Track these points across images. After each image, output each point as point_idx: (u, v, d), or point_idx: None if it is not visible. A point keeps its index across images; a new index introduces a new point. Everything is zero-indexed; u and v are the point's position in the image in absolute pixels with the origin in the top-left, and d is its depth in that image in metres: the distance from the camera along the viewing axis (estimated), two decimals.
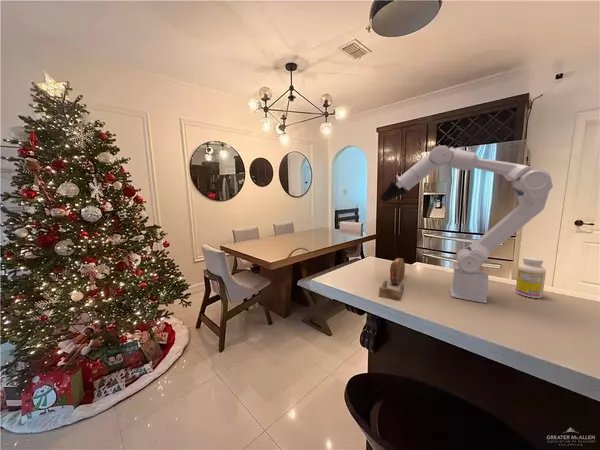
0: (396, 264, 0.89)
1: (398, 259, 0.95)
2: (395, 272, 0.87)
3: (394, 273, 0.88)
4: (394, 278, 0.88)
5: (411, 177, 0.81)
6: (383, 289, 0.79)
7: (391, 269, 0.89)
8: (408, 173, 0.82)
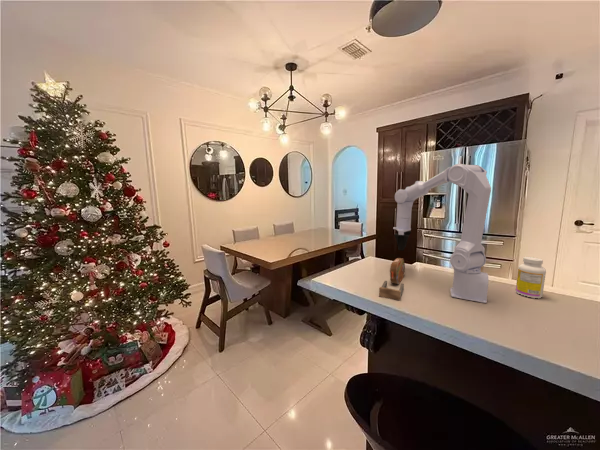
0: (396, 264, 0.89)
1: (398, 259, 0.95)
2: (395, 272, 0.87)
3: (394, 273, 0.88)
4: (394, 278, 0.88)
5: (403, 221, 0.99)
6: (383, 289, 0.79)
7: (391, 269, 0.89)
8: (398, 221, 1.01)
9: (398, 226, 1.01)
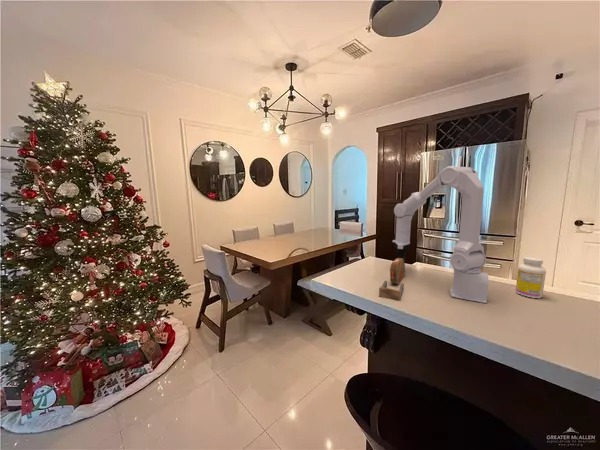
0: (396, 264, 0.89)
1: (398, 259, 0.95)
2: (395, 272, 0.87)
3: (394, 273, 0.88)
4: (394, 278, 0.88)
5: (402, 235, 1.00)
6: (383, 289, 0.79)
7: (391, 269, 0.89)
8: (398, 234, 1.01)
9: (397, 239, 1.02)
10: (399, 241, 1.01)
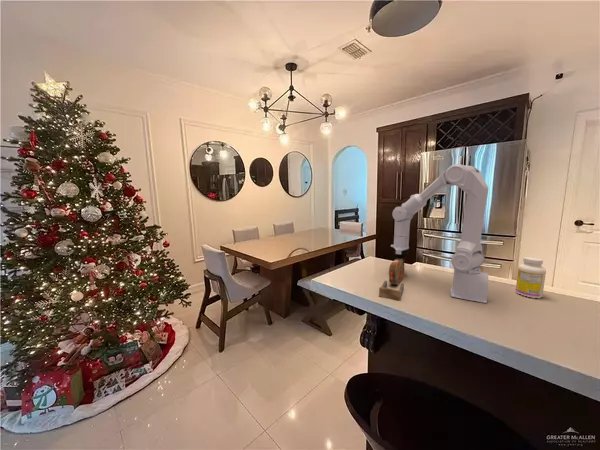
0: (395, 265, 0.88)
1: (397, 260, 0.94)
2: (394, 273, 0.86)
3: (393, 274, 0.87)
4: (393, 279, 0.87)
5: (400, 240, 0.96)
6: (383, 289, 0.79)
7: (390, 270, 0.88)
8: (396, 239, 0.97)
9: (396, 244, 0.98)
10: (397, 246, 0.97)
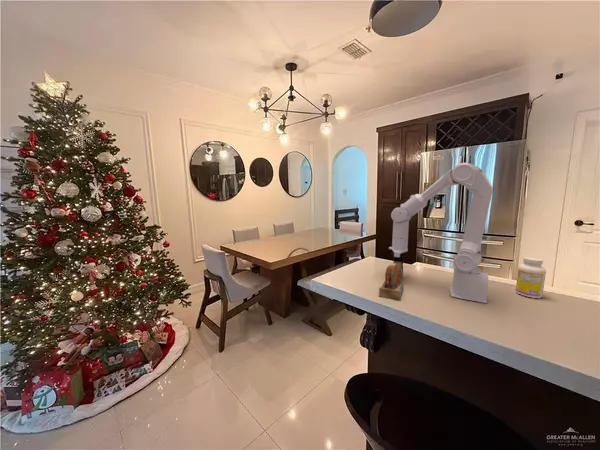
0: (392, 268, 0.84)
1: (395, 263, 0.90)
2: (390, 276, 0.83)
3: (389, 277, 0.83)
4: (390, 283, 0.83)
5: (399, 242, 0.92)
6: (383, 289, 0.79)
7: (386, 273, 0.84)
8: (394, 241, 0.93)
9: (394, 246, 0.94)
10: (396, 248, 0.93)
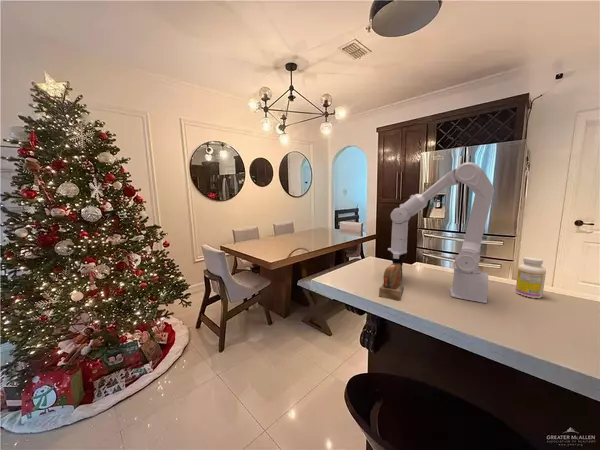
0: (390, 270, 0.82)
1: (394, 264, 0.88)
2: (389, 279, 0.81)
3: (388, 280, 0.81)
4: (388, 285, 0.81)
5: (398, 243, 0.90)
6: (383, 289, 0.79)
7: (385, 275, 0.82)
8: (393, 242, 0.91)
9: (393, 248, 0.92)
10: (395, 249, 0.91)
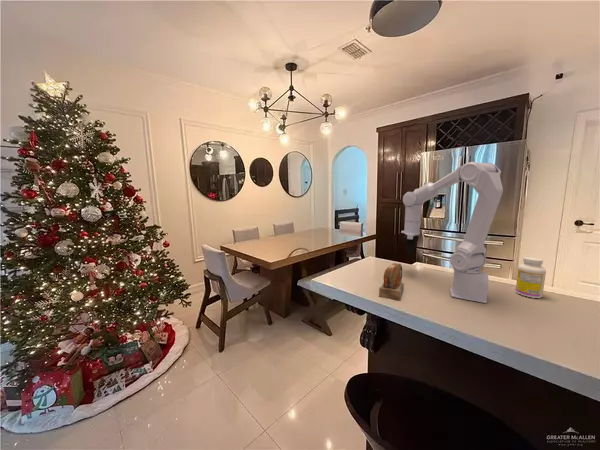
0: (390, 270, 0.82)
1: (394, 265, 0.88)
2: (389, 279, 0.81)
3: (388, 280, 0.81)
4: (388, 285, 0.81)
5: (412, 225, 0.95)
6: (383, 289, 0.79)
7: (385, 276, 0.82)
8: (407, 224, 0.97)
9: (406, 230, 0.97)
10: (408, 231, 0.96)
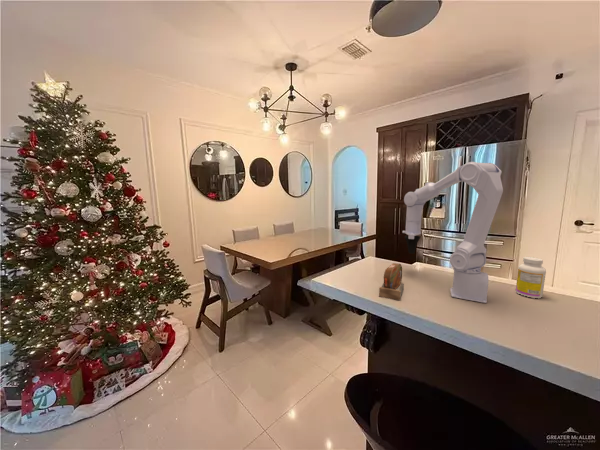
0: (390, 270, 0.82)
1: (394, 265, 0.88)
2: (389, 279, 0.81)
3: (388, 280, 0.81)
4: (388, 285, 0.81)
5: (413, 225, 0.96)
6: (383, 289, 0.79)
7: (385, 276, 0.82)
8: (408, 224, 0.97)
9: (408, 230, 0.97)
10: (410, 231, 0.97)
